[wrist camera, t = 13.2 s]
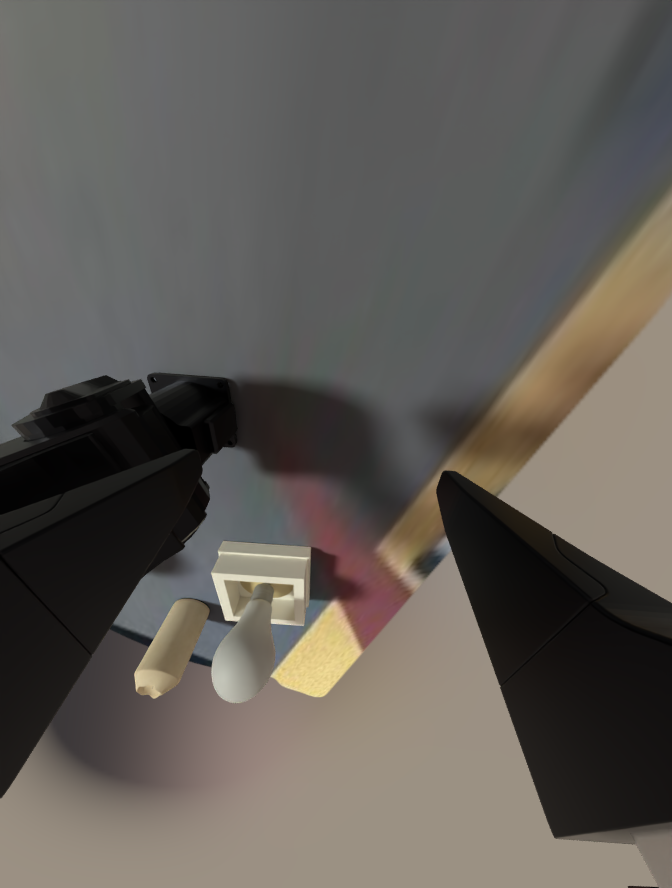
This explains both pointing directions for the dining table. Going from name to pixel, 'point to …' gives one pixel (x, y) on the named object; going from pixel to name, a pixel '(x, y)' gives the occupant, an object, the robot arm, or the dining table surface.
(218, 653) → the lightbulb
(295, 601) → the socket
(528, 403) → the dining table surface
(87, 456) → the robot arm
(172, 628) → the candle
